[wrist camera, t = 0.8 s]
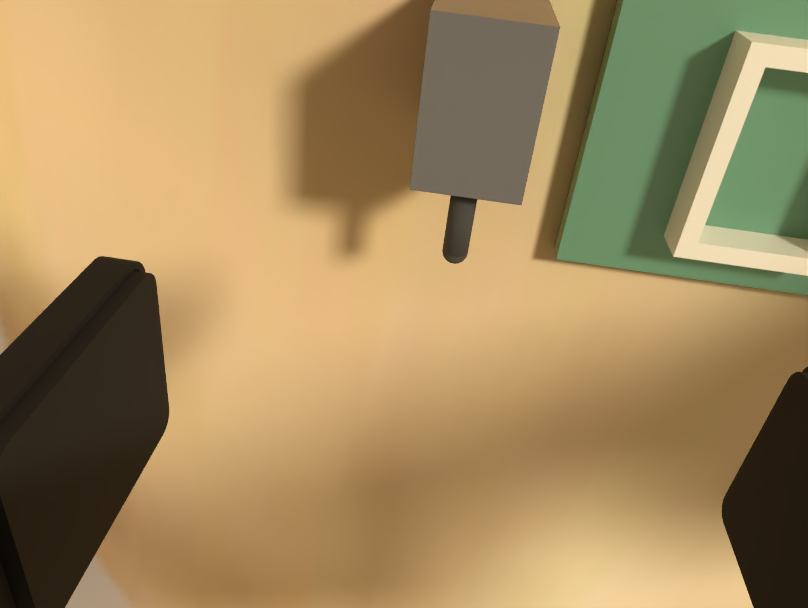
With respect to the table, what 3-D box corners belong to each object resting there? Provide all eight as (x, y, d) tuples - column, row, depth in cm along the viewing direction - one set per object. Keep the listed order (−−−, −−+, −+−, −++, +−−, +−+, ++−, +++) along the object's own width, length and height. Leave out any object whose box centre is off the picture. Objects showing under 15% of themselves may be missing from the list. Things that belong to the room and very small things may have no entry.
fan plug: (543, -14, 28) (560, 26, 21) (501, 201, 33) (503, 288, 26) (445, -27, 28) (430, 10, 21) (418, 189, 33) (399, 273, 26)
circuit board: (1049, 8, 26) (1113, 25, 23) (883, 294, 33) (917, 332, 31) (629, -46, 27) (644, -35, 24) (554, 247, 34) (559, 280, 31)
